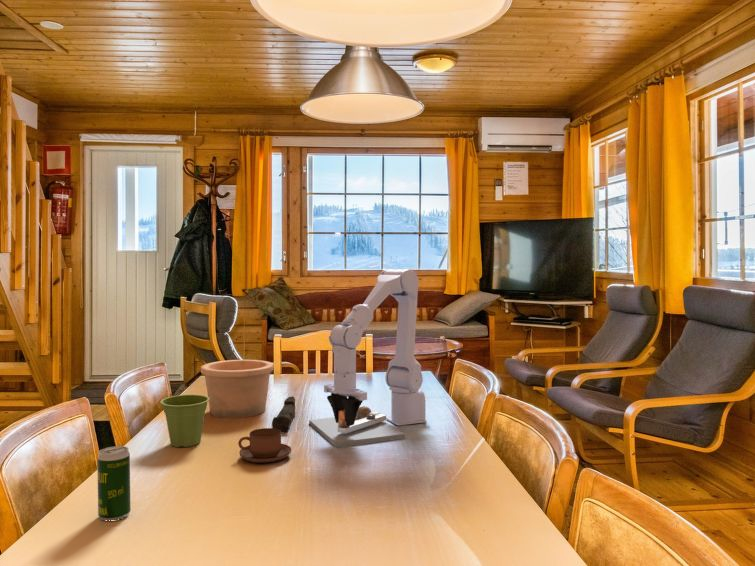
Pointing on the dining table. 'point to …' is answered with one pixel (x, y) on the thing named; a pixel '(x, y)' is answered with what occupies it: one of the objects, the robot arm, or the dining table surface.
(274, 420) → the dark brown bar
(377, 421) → the lever
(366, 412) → the brown sphere
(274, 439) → the cup and saucer
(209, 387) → the pottery
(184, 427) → the plant pot
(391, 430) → the flat white platform
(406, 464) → the dining table surface
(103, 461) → the beer can
